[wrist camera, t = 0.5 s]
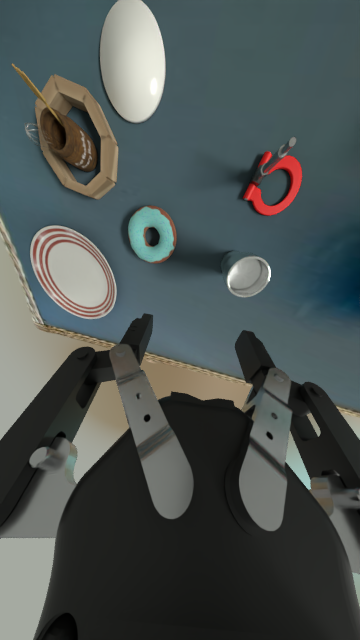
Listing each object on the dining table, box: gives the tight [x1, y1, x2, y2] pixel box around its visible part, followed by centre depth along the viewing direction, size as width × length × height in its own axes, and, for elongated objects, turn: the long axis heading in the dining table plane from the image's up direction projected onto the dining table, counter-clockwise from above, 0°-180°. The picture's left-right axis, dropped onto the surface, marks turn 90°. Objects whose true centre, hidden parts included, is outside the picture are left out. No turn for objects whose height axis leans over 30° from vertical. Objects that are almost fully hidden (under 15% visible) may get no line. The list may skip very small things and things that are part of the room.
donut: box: [128, 206, 177, 263], centre depth 33 cm, size 12×12×4 cm
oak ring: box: [35, 74, 118, 200], centre depth 27 cm, size 14×14×3 cm
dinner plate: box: [30, 226, 116, 319], centre depth 43 cm, size 28×27×3 cm
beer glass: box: [220, 251, 270, 297], centre depth 28 cm, size 7×7×15 cm
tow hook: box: [243, 137, 302, 216], centre depth 22 cm, size 8×13×9 cm
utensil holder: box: [12, 64, 97, 172], centre depth 24 cm, size 6×6×12 cm
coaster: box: [100, 0, 166, 124], centre depth 22 cm, size 11×11×1 cm
